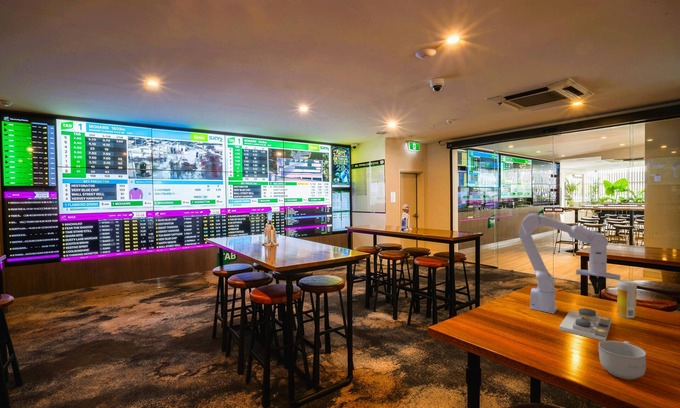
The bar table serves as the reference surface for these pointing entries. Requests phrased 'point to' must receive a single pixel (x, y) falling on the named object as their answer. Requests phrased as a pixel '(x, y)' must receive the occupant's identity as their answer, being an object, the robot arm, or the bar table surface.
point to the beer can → (626, 299)
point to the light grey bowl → (622, 359)
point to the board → (595, 331)
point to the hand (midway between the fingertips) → (596, 293)
